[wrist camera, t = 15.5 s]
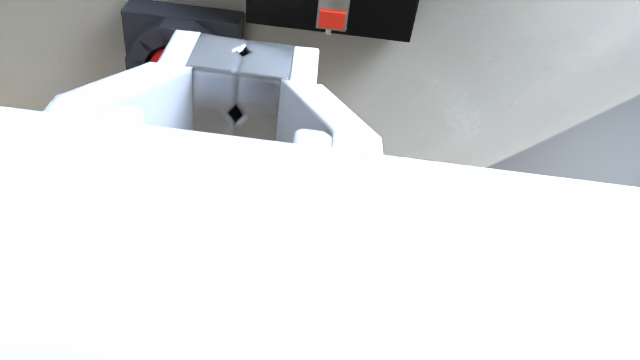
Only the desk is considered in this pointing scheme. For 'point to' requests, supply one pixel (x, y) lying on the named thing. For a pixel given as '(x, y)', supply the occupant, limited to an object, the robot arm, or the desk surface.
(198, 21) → the igniter
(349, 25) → the hob panel
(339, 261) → the robot arm
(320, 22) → the knob
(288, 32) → the desk surface
